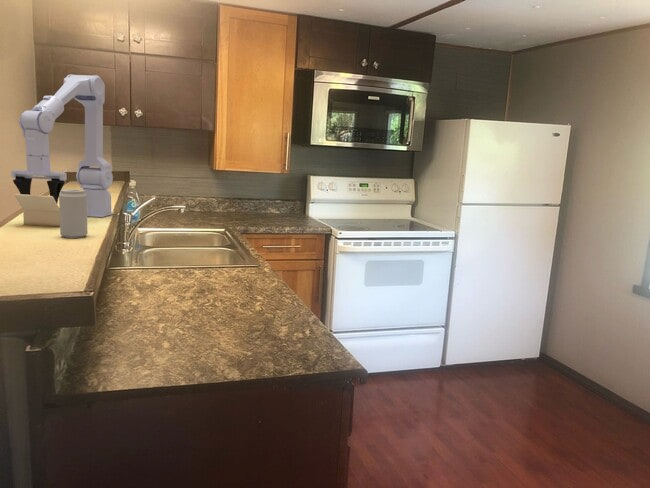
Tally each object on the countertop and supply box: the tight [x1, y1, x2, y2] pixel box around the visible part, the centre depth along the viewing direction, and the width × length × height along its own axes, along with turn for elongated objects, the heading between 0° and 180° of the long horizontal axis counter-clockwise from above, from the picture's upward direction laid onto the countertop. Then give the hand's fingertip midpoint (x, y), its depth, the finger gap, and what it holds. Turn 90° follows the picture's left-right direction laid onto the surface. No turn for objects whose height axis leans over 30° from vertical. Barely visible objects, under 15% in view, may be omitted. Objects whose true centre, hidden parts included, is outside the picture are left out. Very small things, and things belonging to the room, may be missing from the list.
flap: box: [13, 193, 60, 212], centre depth 151 cm, size 6×11×1 cm
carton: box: [22, 209, 60, 228], centre depth 156 cm, size 6×11×4 cm, turn 88°
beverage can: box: [58, 189, 89, 239], centre depth 140 cm, size 6×6×12 cm
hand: (40, 204), depth 152 cm, fingers open, 7 cm apart
